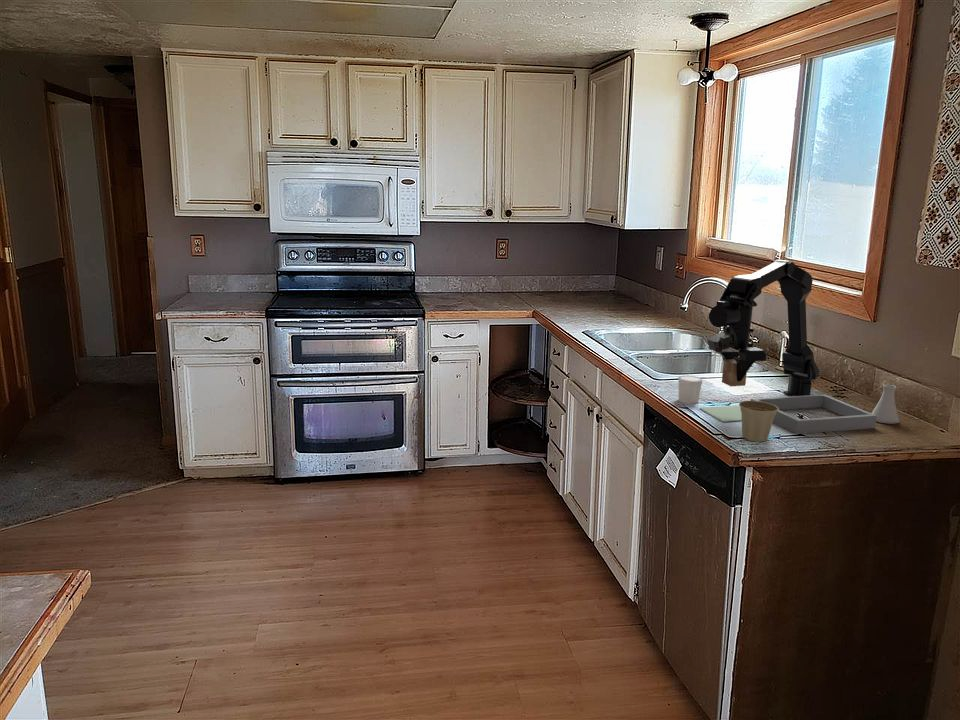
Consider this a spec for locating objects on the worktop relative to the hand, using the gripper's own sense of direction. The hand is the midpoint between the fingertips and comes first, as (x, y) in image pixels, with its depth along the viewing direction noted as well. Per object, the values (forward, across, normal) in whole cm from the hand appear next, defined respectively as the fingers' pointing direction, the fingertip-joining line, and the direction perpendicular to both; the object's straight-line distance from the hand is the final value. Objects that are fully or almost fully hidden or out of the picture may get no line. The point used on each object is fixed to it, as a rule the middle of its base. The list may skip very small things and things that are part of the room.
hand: (733, 378), depth 205 cm
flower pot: (+10, +19, -5) cm, 22 cm away
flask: (+11, +13, +40) cm, 43 cm away
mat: (+10, 0, 0) cm, 10 cm away
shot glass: (+10, -14, -5) cm, 18 cm away
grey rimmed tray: (+10, +8, +20) cm, 24 cm away
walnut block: (+1, 0, 0) cm, 1 cm away
